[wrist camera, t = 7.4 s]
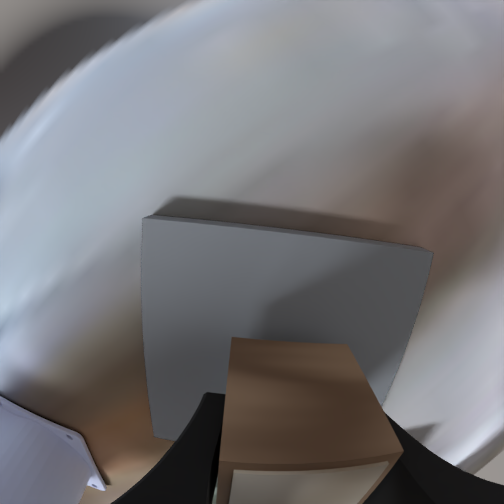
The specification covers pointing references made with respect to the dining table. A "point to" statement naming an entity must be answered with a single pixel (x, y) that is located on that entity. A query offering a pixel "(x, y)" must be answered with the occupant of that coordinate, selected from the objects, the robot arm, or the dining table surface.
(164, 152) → the dining table surface
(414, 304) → the slate mat
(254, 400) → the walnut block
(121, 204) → the dining table surface
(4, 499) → the robot arm
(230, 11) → the dining table surface
